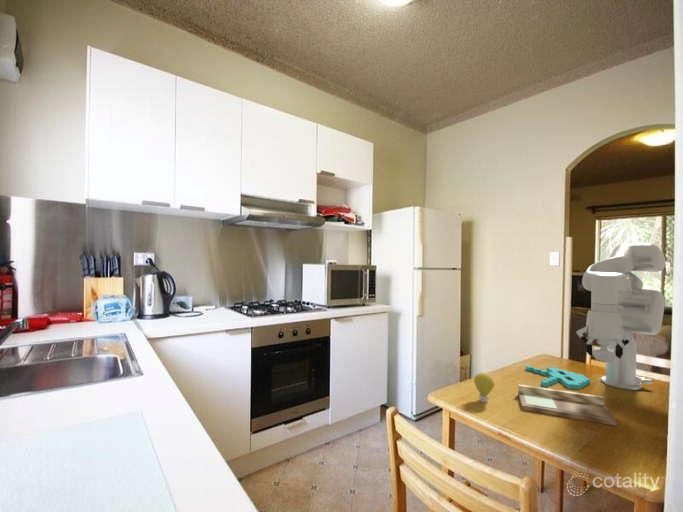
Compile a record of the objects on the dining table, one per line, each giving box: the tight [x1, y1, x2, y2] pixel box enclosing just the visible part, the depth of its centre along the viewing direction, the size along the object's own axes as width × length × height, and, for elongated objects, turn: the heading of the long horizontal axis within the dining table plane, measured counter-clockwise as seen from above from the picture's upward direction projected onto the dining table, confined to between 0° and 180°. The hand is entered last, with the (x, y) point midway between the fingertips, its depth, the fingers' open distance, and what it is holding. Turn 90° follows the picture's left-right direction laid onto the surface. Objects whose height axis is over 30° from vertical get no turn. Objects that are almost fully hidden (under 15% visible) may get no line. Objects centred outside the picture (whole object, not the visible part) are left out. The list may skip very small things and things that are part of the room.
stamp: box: [592, 339, 616, 363], centre depth 120 cm, size 9×7×8 cm
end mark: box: [523, 393, 557, 409], centre depth 116 cm, size 9×10×1 cm
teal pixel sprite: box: [525, 365, 591, 390], centre depth 140 cm, size 20×2×20 cm
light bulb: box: [473, 372, 495, 403], centre depth 119 cm, size 7×7×10 cm
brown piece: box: [517, 383, 618, 427], centre depth 113 cm, size 26×13×4 cm, turn 67°
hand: (603, 355), depth 120 cm, fingers closed on stamp, 7 cm apart
